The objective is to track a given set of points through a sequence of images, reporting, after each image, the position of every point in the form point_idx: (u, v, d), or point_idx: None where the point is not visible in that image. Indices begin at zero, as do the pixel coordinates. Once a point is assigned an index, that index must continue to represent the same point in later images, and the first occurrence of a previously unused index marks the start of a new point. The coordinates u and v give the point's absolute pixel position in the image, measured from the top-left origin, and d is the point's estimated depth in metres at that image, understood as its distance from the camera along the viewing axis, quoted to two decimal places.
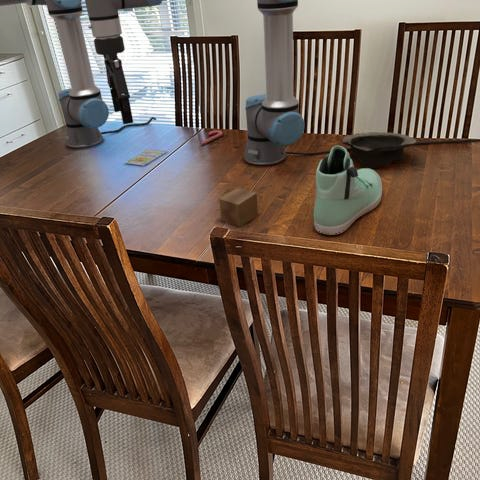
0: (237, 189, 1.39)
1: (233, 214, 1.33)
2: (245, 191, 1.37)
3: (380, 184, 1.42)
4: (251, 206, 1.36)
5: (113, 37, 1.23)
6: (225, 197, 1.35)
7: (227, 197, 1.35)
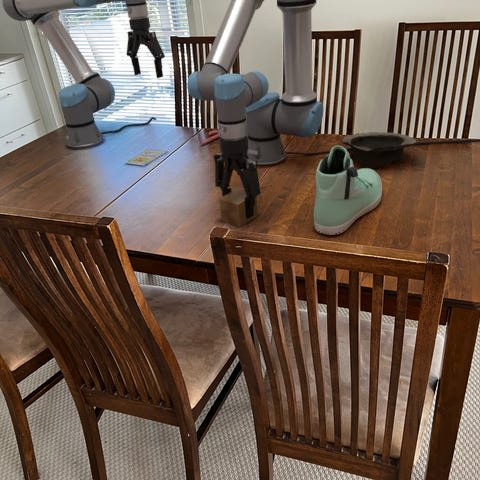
0: (237, 189, 1.39)
1: (233, 214, 1.33)
2: None
3: (380, 184, 1.42)
4: None
5: (244, 136, 1.25)
6: (225, 197, 1.35)
7: (227, 197, 1.35)
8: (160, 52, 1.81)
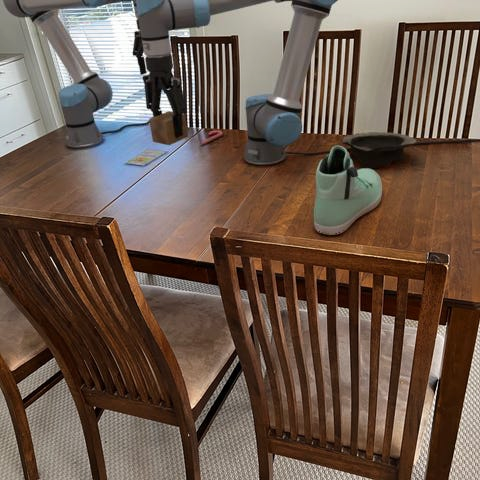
0: (167, 112, 1.47)
1: (162, 133, 1.41)
2: None
3: (380, 184, 1.42)
4: None
5: (168, 54, 1.33)
6: (155, 117, 1.43)
7: (156, 117, 1.42)
8: None
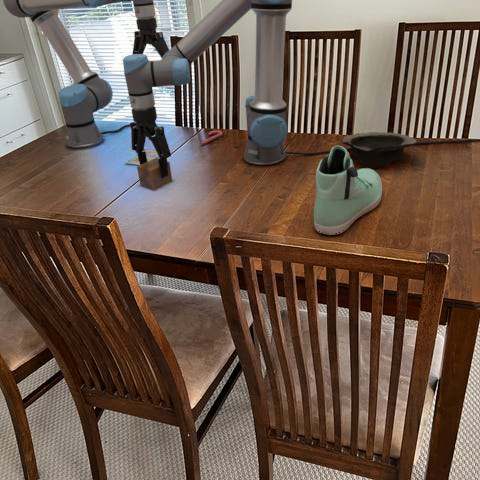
0: (154, 159, 1.64)
1: (148, 179, 1.58)
2: None
3: (380, 184, 1.42)
4: None
5: (152, 107, 1.49)
6: (142, 165, 1.60)
7: (143, 165, 1.59)
8: None
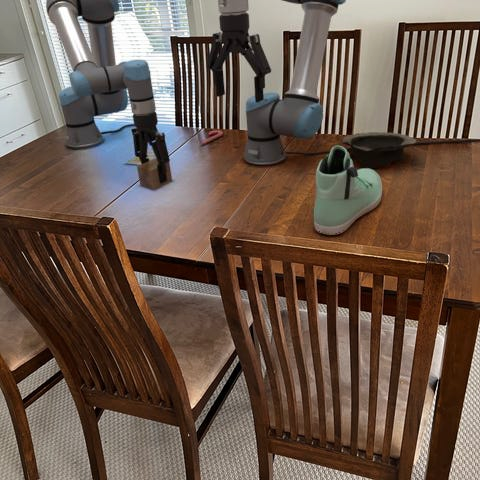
0: (154, 159, 1.64)
1: (148, 179, 1.58)
2: None
3: (380, 184, 1.42)
4: None
5: (245, 12, 1.19)
6: (142, 165, 1.60)
7: (143, 165, 1.59)
8: (165, 157, 1.54)
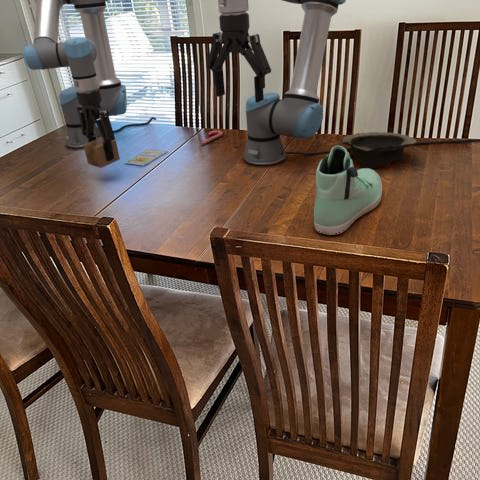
0: (101, 137, 1.66)
1: (95, 157, 1.61)
2: None
3: (380, 184, 1.42)
4: None
5: (245, 12, 1.19)
6: (88, 143, 1.62)
7: (90, 143, 1.62)
8: (110, 135, 1.57)
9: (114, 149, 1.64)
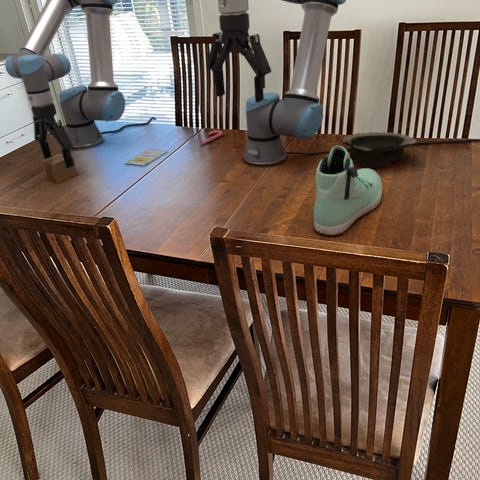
0: (60, 154, 1.75)
1: (52, 172, 1.69)
2: None
3: (380, 184, 1.42)
4: None
5: (245, 12, 1.19)
6: (47, 159, 1.71)
7: (48, 159, 1.70)
8: (67, 142, 1.62)
9: None
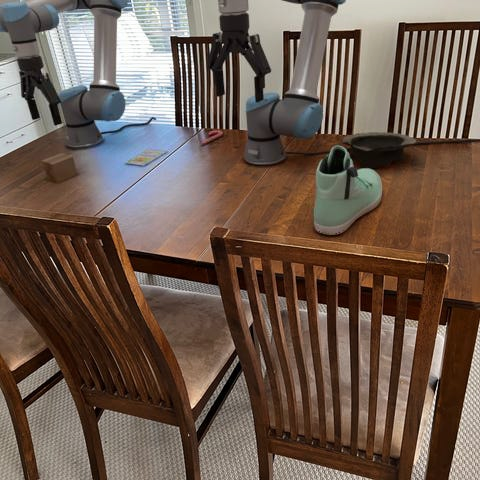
0: (60, 154, 1.75)
1: (52, 172, 1.69)
2: (65, 155, 1.73)
3: (380, 184, 1.42)
4: (68, 166, 1.71)
5: (245, 12, 1.19)
6: (47, 159, 1.71)
7: (48, 159, 1.70)
8: (55, 97, 1.54)
9: (71, 165, 1.72)
